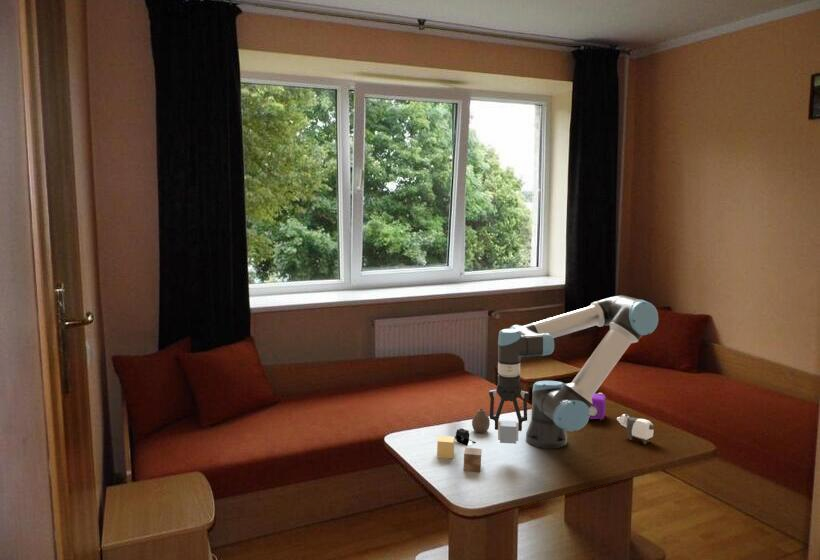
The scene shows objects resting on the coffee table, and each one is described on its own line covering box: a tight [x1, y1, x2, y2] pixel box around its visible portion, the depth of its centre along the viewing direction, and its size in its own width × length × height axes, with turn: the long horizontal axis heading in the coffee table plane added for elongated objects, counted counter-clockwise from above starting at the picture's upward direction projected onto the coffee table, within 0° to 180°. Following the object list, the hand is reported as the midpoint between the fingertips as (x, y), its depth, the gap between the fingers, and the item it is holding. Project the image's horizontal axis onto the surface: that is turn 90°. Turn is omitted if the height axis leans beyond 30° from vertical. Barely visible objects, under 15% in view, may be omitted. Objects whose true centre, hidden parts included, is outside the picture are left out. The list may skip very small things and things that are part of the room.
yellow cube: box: [436, 435, 455, 459], centre depth 218 cm, size 6×6×6 cm
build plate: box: [454, 427, 477, 447], centre depth 232 cm, size 12×7×5 cm, turn 44°
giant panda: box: [616, 412, 655, 442], centre depth 237 cm, size 15×6×10 cm, turn 43°
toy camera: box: [589, 392, 607, 420], centre depth 260 cm, size 11×14×10 cm
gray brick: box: [499, 420, 517, 445], centre depth 214 cm, size 6×6×6 cm
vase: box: [471, 408, 491, 434], centre depth 242 cm, size 7×7×9 cm
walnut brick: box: [463, 447, 482, 473], centre depth 208 cm, size 6×6×6 cm
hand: (508, 438), depth 214 cm, fingers closed on gray brick, 5 cm apart
